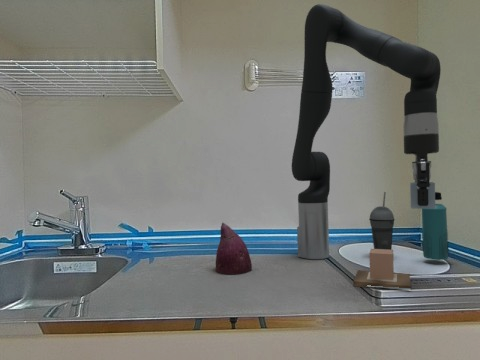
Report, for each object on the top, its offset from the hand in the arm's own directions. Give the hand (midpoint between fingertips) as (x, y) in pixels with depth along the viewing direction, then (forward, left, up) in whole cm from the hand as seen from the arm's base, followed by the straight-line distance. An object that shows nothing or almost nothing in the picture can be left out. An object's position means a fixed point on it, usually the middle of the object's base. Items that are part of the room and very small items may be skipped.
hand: (422, 204), depth 86 cm
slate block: (0, 0, -1) cm, 1 cm away
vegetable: (-48, -6, -18) cm, 52 cm away
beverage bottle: (+4, +18, -18) cm, 26 cm away
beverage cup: (-10, +21, -18) cm, 30 cm away
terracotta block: (-9, -6, -17) cm, 20 cm away
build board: (-9, -6, -18) cm, 21 cm away
